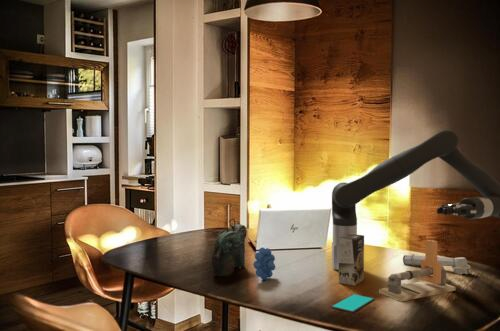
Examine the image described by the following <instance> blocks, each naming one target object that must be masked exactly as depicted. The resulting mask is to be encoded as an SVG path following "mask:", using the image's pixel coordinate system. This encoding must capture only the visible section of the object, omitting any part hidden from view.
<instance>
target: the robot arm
mask: <svg viewBox="0 0 500 331" xmlns="http://www.w3.org/2000/svg"><path fill="white" fill-rule="evenodd" d="M458 145H459V137H458V134H457V133H456V132H454V131H453V130H449V129H442V130H439V131H437V132H436V133H434V134H433V135H432V136H430V137H429V138H427V139H426V140H424V141H422V142H421V143H419V144H418V145H415V146H413V147H411V148H409V149H406V150H404V151H402V152H399V153H397V154H396V155H393V156H391V157H389V158H387V159H385V160H384V161H382V162H380V163H379V164H377V165H376V166H375V167H374V168H372V169H371V170H370V171H369V172H368V173H366V174H365V175H363V176H362V177H359V178H358V179H355V180H352V181H349V182H339V183H337V184H336V185H334V187H333V189H332V192H331V216H332V217H331V218H332V242H331V266H332V269H333V271H335V270H337V271H339V238H340V237H343V236H345V235H347V234H351V235H358V217H357V209H356V208H357V206H356V205H357V204H358V203H359V202H362V201H363V200H364V199H366V198H367V197H369V196H370V195H372V194H374V193H376V192H378V191H380V190H382V189H384V188H387V187H389V186H391V185H393V184H395V183H397V182H399V181H401V180H403V179H405V178H407V177H408V176H410V175H411V174H413V173H415V172H416V171H418V170H419V169H420V168H422V167H423V166H424V165H426V164H427V163H428V162H430V161H432V160H435V159H436V158H439V159H441V160H442V161H443V162H445V163H446V164H448V165H449V166H450V167H451V168H453V169H454V170H455V171H456V172H458V173H459V174H460V175H461V176H462V177H463V178H465V180H466V181H468V183H470V184H471V185H472V187H474V188H475V189H476V190H477V191H478V192H479V193H480V195H482V196H472V197H465V198H462V199H461V200H460V202H455V203H450V204H449V203H444V204H441V206H438V207H437V208H436V214H437V215H444V216H449V215H451V216H460V217H462V218H463V219H466V220H476V219H483V218H488V217H494V218H499V219H500V182H498V181H497V180H496V179H495V178H494V177H493V176H492V175H491V174H490V173H489V172H488V171H486V170H485V169H484V168H482V167H481V166H480V165H478V164H477V163H475V162H473V161H472V160H470V159H468V158H467V157H466V156H465V155H464V153H462V152H461V151H460V150H459V149H458Z"/></svg>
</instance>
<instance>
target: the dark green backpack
mask: <svg viewBox="0 0 500 331" xmlns="http://www.w3.org/2000/svg"><path fill="white" fill-rule="evenodd" d="M232 220H233V222H234V224H229V226H230V228H229V229H228V228H227V229H226V228H224V229H222V230H221V231H219V232H218V234H217V237H216V239H215V240H214V244H213V248H212V253H211V265H212V269H213V276H214V277H216V276H222V275H224V276H225V272H226V264H227V262H228V259H229V258H230V257H231V258H232V264H233V267H234V266H235V267H242V266H244V267H245V262H246V261H245V257H246V256H245V254H246V246H245V242H246V241H245V240H246V237H247V232H248V231H247V227H246V226H245V225H243V224H241V223H240V221H237V223H236V220H235V218H230V219H229V220H228V223H231V221H232ZM235 267H234V268H235ZM242 268H243V267H242ZM222 277H223V276H222Z"/></svg>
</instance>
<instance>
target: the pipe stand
mask: <svg viewBox="0 0 500 331" xmlns="http://www.w3.org/2000/svg"><path fill="white" fill-rule="evenodd" d="M429 275H431V276H433V267H429V268H426V269H416V270H405V271H404V272H397V273H392V274H390V275H389V276H388V280H387V281H388V282H387V286H388V287H383V288H379V289H378V293H379V294H382V295H384V296H387V297H389V298H392V299H394V300H397V301H399V302H405V301H409V300H414V299H415V300H416V299H421V298H425V297H430V296H435V295H440V294H445V293H449V292H454V291H457V290H456V288H457V287H456V286H453V285H451V284H448V283H446V282H447V270H445V266H441V284H434V283H431V282H428V281H425V280H420V281H416V282H411V283H405V284H402V281H405V280H408V281H409V280H413V279H417V278H421V277H423V276H429Z"/></svg>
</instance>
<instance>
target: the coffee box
mask: <svg viewBox="0 0 500 331" xmlns="http://www.w3.org/2000/svg"><path fill="white" fill-rule="evenodd" d="M364 278H365V235H362V234H357V235H351V234H347V235H345V236H343V237H340V238H339V270H338V284H344V285H348V286H356V285H358V284H360V283H361V282H362V281H364Z"/></svg>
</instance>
